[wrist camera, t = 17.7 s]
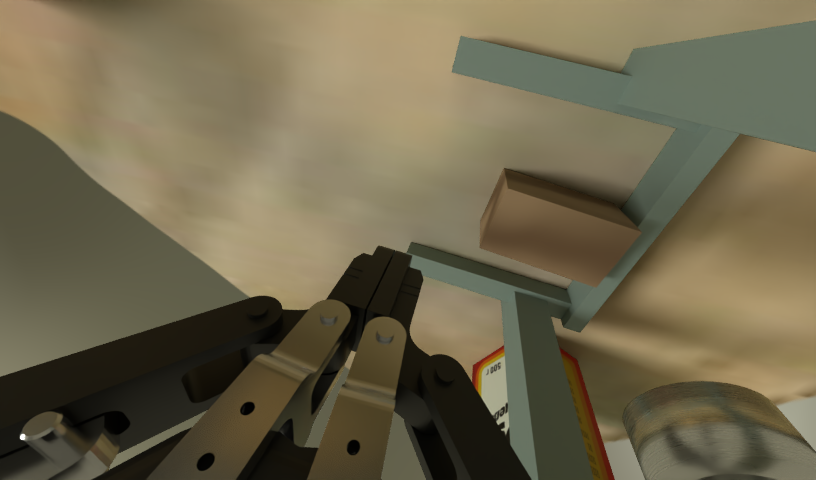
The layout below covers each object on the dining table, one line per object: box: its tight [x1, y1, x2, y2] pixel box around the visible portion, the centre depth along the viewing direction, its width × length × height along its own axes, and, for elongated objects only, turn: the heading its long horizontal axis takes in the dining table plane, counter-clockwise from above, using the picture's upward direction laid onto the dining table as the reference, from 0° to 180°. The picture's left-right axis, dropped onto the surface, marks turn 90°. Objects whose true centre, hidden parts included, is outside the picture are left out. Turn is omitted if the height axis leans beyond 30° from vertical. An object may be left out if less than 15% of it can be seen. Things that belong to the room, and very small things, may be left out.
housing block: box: [480, 168, 642, 288], centre depth 22 cm, size 5×9×5 cm, turn 76°
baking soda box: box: [472, 346, 615, 480], centre depth 27 cm, size 10×6×16 cm
